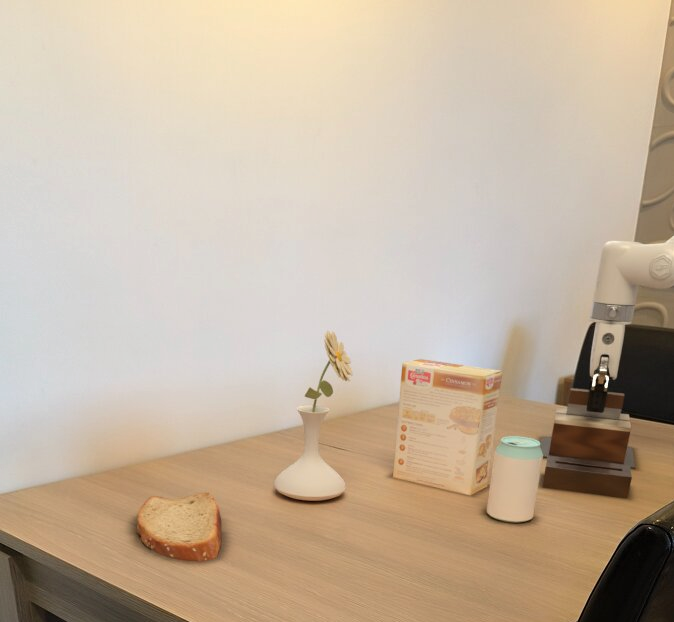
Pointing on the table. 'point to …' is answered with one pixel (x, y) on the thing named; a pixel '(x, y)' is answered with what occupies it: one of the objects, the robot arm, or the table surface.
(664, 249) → the robot arm
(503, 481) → the can
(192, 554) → the bread slice
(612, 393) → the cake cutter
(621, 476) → the slotted wooden block
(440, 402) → the coffeecake box
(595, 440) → the wooden box
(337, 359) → the flower in vase
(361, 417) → the table surface
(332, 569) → the table surface
